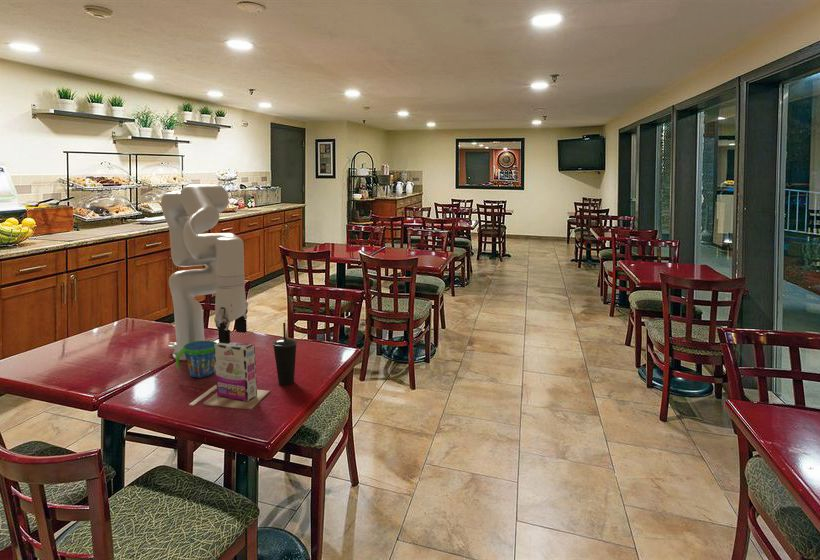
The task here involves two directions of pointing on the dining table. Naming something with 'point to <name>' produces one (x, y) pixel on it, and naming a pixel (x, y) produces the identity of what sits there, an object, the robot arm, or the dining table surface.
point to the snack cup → (199, 358)
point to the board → (236, 401)
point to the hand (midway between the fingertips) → (233, 337)
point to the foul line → (203, 395)
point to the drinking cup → (285, 358)
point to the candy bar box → (235, 370)
